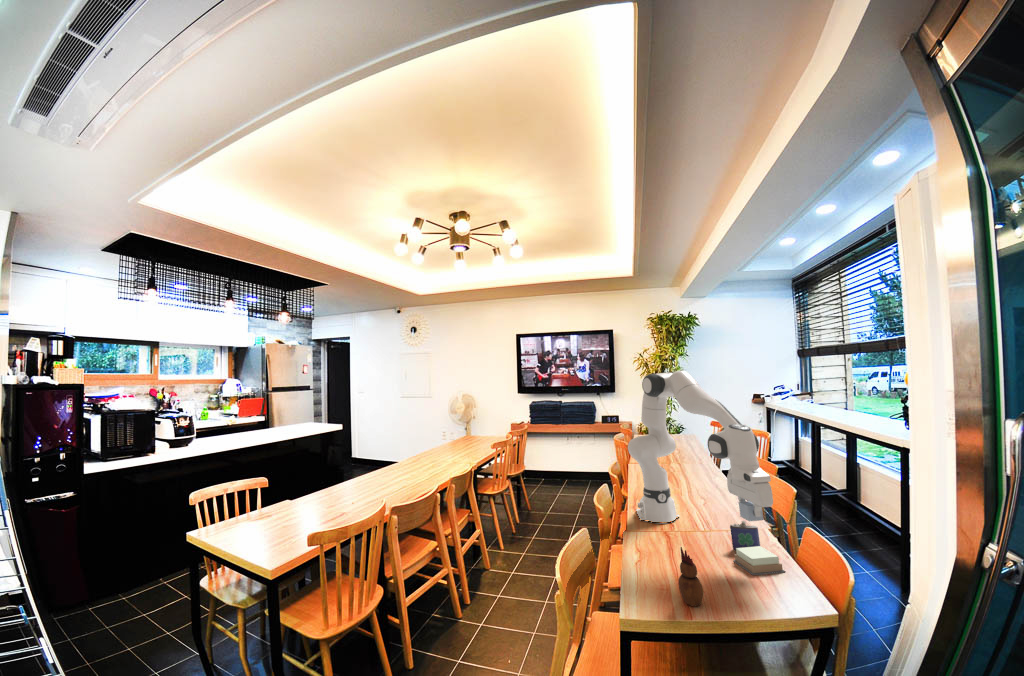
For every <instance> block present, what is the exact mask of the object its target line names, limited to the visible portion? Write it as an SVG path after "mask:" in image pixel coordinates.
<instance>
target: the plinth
mask: <svg viewBox="0 0 1024 676" xmlns="http://www.w3.org/2000/svg"><path fill="white" fill-rule="evenodd" d="M735 552H736V554H735V553H734V560H735V561H737V562H738V563H740V564H741V565H742V566H744V567H745V568H747V569H748V570H750V571H751V572H752V573H761V572H772V571H783V570H784V569H783V563H781V562H780V558H779V556H778V555H777V554H775V553H773V551H772V552H771V551H770V550H768V549H766V548H765V547H763V546H762V545H760V546H756V547H744V548H736V551H735Z"/></svg>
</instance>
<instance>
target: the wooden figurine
mask: <svg viewBox="0 0 1024 676" xmlns="http://www.w3.org/2000/svg"><path fill="white" fill-rule="evenodd" d="M680 558H681V559H680V560H681V562H680V564H679V570H680V571H679V572H680V573H681V574H680V575H679V577H678V589H679V592H680V596H681V598H682V600H683V602H684V603H685V604H687V605H688V606H690V607H698V606H700V605H701V604H702V603H703V599H704V588H703V585H702V582H701V581H700V579H699V578H698V569H697V566H696V564H695V562H694V561H693V558H691V556H690V554H687V550H683V548H682V546H680Z"/></svg>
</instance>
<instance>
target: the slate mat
mask: <svg viewBox="0 0 1024 676" xmlns="http://www.w3.org/2000/svg"><path fill="white" fill-rule="evenodd" d="M732 561H733V562H734V563H735V564H737V565H738V566H739V567H741V568H742V569H743V570H745V571H746V572H748V573H749V574H750V575H752V576H759V575H760V576H761V575H770V574H771V575H772V574H781V573H786V570H785V569H783V571H772V572H761V573H752V572H751V571H750V570H748V569H747V568H745V567H744V566H742V565H741V564H740V563H738V562H737V561H735V559H733V560H732Z"/></svg>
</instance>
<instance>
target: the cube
mask: <svg viewBox="0 0 1024 676" xmlns="http://www.w3.org/2000/svg"><path fill="white" fill-rule="evenodd" d="M738 507H739V508H738V509H739V515H740V518H742V519H744V520H746V521H748V522H757V521H764V515H763V512H764V511H763V508H762V509H761V511H760V512H761V516H760V517H756V516H754V515H753V510H754V508H755V506H753V503H752V502H750V501H747V500H746V501H745V502H739V501H738Z"/></svg>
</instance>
